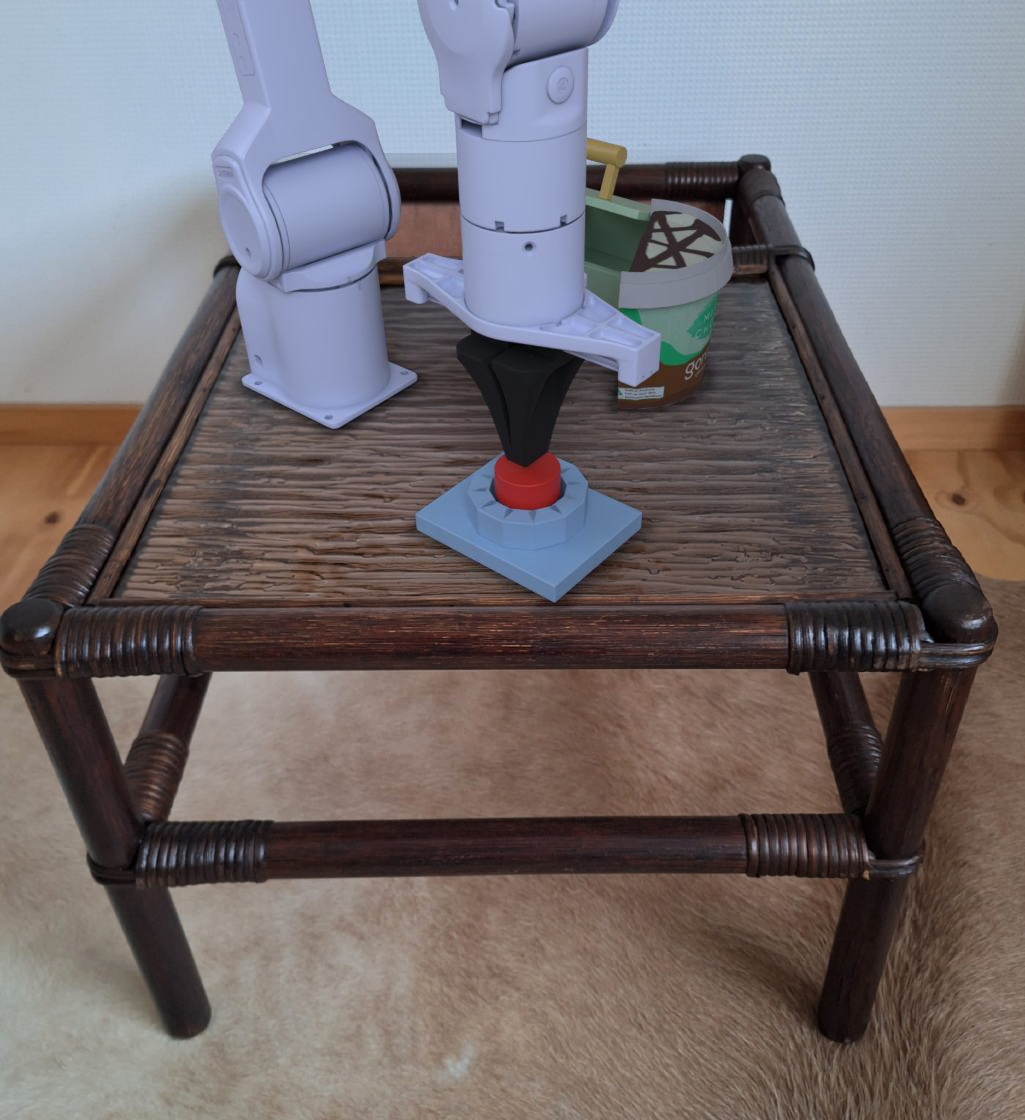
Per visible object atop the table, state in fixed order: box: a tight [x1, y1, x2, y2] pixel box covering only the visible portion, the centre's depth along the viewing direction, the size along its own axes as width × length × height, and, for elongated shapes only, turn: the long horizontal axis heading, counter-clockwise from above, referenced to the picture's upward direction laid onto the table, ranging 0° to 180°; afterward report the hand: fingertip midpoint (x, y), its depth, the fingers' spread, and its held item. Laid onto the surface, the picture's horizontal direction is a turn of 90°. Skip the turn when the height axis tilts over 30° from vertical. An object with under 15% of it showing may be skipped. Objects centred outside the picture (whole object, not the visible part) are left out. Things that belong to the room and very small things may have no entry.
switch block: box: [414, 451, 643, 604], centre depth 60 cm, size 10×8×3 cm
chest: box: [584, 205, 649, 311], centre depth 82 cm, size 10×12×5 cm
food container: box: [617, 198, 734, 410], centre depth 70 cm, size 12×6×10 cm, turn 165°
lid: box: [586, 136, 651, 222], centre depth 78 cm, size 11×12×4 cm
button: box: [494, 451, 561, 511], centre depth 59 cm, size 4×4×2 cm
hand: (527, 455), depth 58 cm, fingers closed
